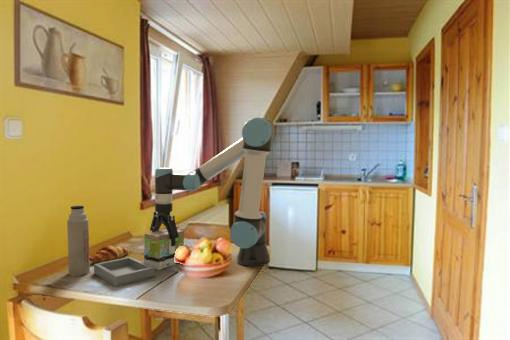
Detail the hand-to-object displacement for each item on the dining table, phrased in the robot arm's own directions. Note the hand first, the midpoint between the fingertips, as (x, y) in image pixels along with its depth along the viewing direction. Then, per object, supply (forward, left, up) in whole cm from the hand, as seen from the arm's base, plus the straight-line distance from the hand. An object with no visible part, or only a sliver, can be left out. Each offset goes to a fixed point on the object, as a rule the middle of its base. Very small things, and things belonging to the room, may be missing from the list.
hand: (163, 250), depth 176 cm
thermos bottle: (+14, +32, -7) cm, 35 cm away
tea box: (0, 0, -7) cm, 7 cm away
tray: (-2, +20, -6) cm, 21 cm away
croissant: (+24, +14, -7) cm, 29 cm away
